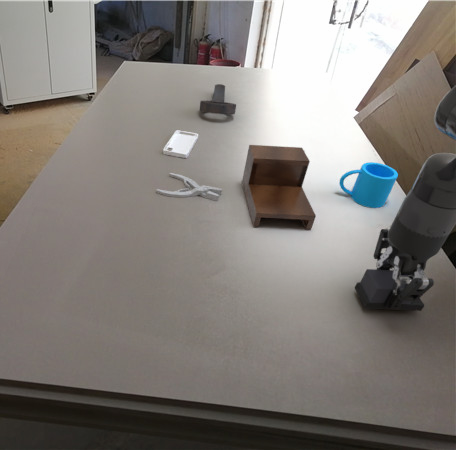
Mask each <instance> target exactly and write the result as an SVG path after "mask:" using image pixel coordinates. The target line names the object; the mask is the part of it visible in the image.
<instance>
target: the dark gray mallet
mask: <svg viewBox="0 0 456 450" xmlns="http://www.w3.org/2000/svg"><path fill="white" fill-rule="evenodd" d="M225 97H226V85H224V84H221V83H216V84H214V89H213V96H212V100H200V103H199V111H200V112H203V113H208V114H216V115H217V114H218V115H235V114H236V109H237V104H236V103H232V102H227V101H225Z"/></svg>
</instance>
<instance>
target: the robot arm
mask: <svg viewBox="0 0 456 450" xmlns="http://www.w3.org/2000/svg"><path fill="white" fill-rule="evenodd" d="M433 118H434V119H433V121H434V126H435V127H436V128H437V129H438V130H439V131H440V132H441V133H442V134H444V135H445V136H447V137H449V138H450V139H452V140H454V141H456V85H454V86H453V87H452V88H450V90H448V91H447V92H446V94H445V95H444V96H443V98H441V99H440V101H439V103H438V105H437V106H436V108H435V112H434V117H433ZM455 226H456V153H450V152H437V153H434V154H432V155H430V156H429V157H427V159H426V160H425V161H424V163H423V164H422V167H421V168H420V170H419V172H418V175H417V176H416V179H415V181H414V183H413V184H412V186H411V188H410V189H409V192H408V193H407V194H406V195H405V197H404V199H403V201H402V203H401V205H400V207H399V209H398V210H397V213H396V214H395V217H394V219H393V221H392V223H391V225H390V227H389V228H381V229H380V232H379V235H378V237H377V238H378V239H377V242H376V246H375V249H374V252H373V259H374V260H377V261H376V264H375V265H376V269H375V270H394V271H393V275H392V280H393V281H394V284H393V288H392V291H391V292H390V294H389V295H388V297H387V299H386V301H385V303H384V306H385V308H386V309H385V310H389V309H398V308H399V307H400V306H401V304H402V302H403V301H417V300H418V299H419V298H420V299H421V297H422V296H424V295H425V294H426V293H427V292H428V291H429V290H430V289H431V288H432V287H433V286H434V284H435V281H434V279H433V278H429V277H427V276H426V273H425V270H426V266H427V262H428V261H429V260H430V259H431V258H433V257H434V256H436V255H437V254H438V253H439V252H440V250H441V249H442V247H443V246H444V244H445V242H446V240H447V239H448V237H449V236H450V234H451V233H452V231H453V229H454V227H455ZM383 249H385V251H384V252H382V251H383ZM400 275H409V276H408V277H400ZM401 284H405V287H404V288H400V286H401Z"/></svg>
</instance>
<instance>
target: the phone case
mask: <svg viewBox="0 0 456 450" xmlns="http://www.w3.org/2000/svg"><path fill="white" fill-rule="evenodd" d="M198 140H199V134H198V133H196V132H192V131H191V132H190V131H185V130H179V129H177V130H175V131H174V133H173V134H172V136H171V137H170V139H169V140H168V141H167V143H166V144H165V146H164V147H163V149H162V154H163V155H165V156H166V155H167V156H172V157H177V158H181V159H187V158H188V157H189V156H190V154H191V152H192V150H193V149H194V147H195V145H196V143H197V142H198ZM168 149H171V150H168Z"/></svg>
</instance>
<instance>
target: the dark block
mask: <svg viewBox="0 0 456 450" xmlns="http://www.w3.org/2000/svg"><path fill="white" fill-rule="evenodd" d="M393 271H394V269H390V270H376V269H374V268H373V269H371V268H366V270H365V272H364V274H363V276H362V278H361V281H360V282H356V285H355V286H354V290H355V292H356V293H357V296H358V298H359V300H360V302H361V304H362V306H363V308H364V309H367V310H368V309H369V310H387V309H386V308H385V306H384V303H385V301H386V299H387V297H388V295H389V294H390V292H391V291H392V288H393V284H394V281H393V280H392V275H393ZM408 276H410V275H400V277H408ZM404 287H405V284H401V286H400V288H404ZM424 308H425V303H424V302H423V300H422V299H421V297H420V298H419V299H418V300H417V301H403V302H402V304H401V306H400V307H399V308H398V309H388V310H391V311H392V310H393V311H415V312H422V310H424Z"/></svg>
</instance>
